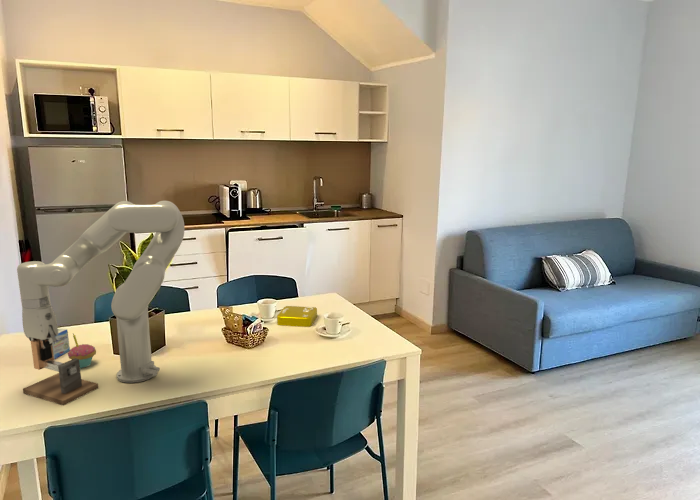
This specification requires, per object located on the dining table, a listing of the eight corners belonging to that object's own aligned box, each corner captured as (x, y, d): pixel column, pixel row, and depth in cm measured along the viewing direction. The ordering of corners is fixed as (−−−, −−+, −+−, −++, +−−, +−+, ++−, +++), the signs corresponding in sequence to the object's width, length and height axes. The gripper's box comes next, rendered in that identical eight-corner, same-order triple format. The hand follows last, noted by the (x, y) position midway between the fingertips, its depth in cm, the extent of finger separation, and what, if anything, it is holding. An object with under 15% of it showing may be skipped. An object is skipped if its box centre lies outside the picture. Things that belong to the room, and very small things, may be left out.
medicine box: (54, 359, 181) (51, 336, 180) (43, 358, 182) (40, 335, 181) (70, 351, 189) (67, 328, 187) (60, 350, 190) (57, 328, 188)
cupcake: (69, 372, 172) (65, 338, 169) (69, 362, 179) (65, 330, 177) (97, 367, 176) (94, 334, 173) (96, 357, 183) (93, 326, 181)
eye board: (98, 387, 161) (94, 357, 159) (63, 405, 150) (59, 372, 148) (59, 377, 168) (55, 347, 166) (23, 393, 157) (18, 361, 155)
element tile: (285, 314, 231) (285, 304, 230) (318, 316, 228) (317, 306, 227) (275, 326, 216) (275, 315, 215) (310, 328, 214) (310, 317, 213)
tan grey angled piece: (81, 370, 157) (77, 342, 155) (66, 377, 153) (62, 348, 151) (49, 362, 163) (45, 335, 161) (34, 368, 159) (30, 341, 157)
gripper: (65, 302, 156) (72, 358, 160) (30, 295, 162) (37, 349, 166) (42, 309, 149) (50, 367, 153) (6, 302, 156) (14, 358, 160)
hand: (43, 357), depth 160 cm, fingers closed on tan grey angled piece, 2 cm apart
